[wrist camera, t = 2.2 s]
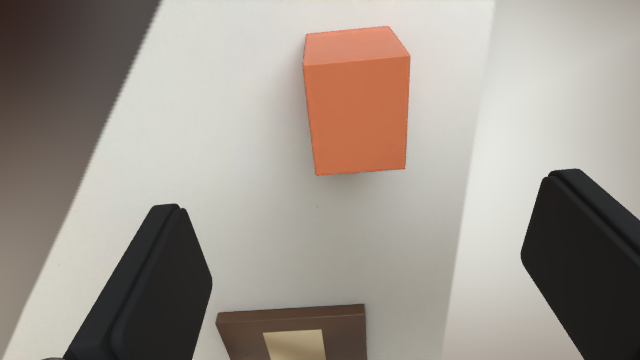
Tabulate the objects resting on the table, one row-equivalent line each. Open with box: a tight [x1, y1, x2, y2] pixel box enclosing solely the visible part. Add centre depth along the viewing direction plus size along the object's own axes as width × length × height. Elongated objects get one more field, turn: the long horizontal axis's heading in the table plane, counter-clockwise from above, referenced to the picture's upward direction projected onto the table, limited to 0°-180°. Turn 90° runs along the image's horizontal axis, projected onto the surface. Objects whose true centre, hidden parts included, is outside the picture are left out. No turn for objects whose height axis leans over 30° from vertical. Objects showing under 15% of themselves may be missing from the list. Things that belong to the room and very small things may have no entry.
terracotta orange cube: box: [303, 26, 410, 176], centre depth 17 cm, size 5×4×5 cm
